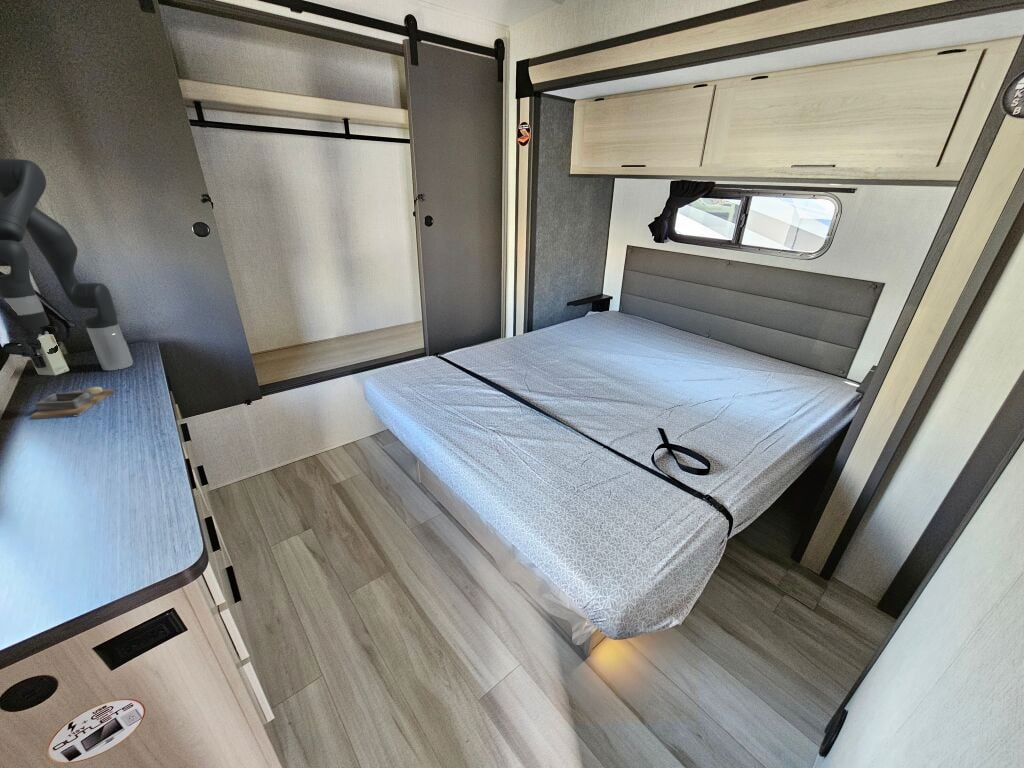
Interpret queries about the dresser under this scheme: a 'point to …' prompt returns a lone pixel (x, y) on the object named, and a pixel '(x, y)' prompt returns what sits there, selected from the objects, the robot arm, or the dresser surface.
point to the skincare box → (51, 357)
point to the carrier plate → (69, 402)
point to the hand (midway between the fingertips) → (48, 364)
